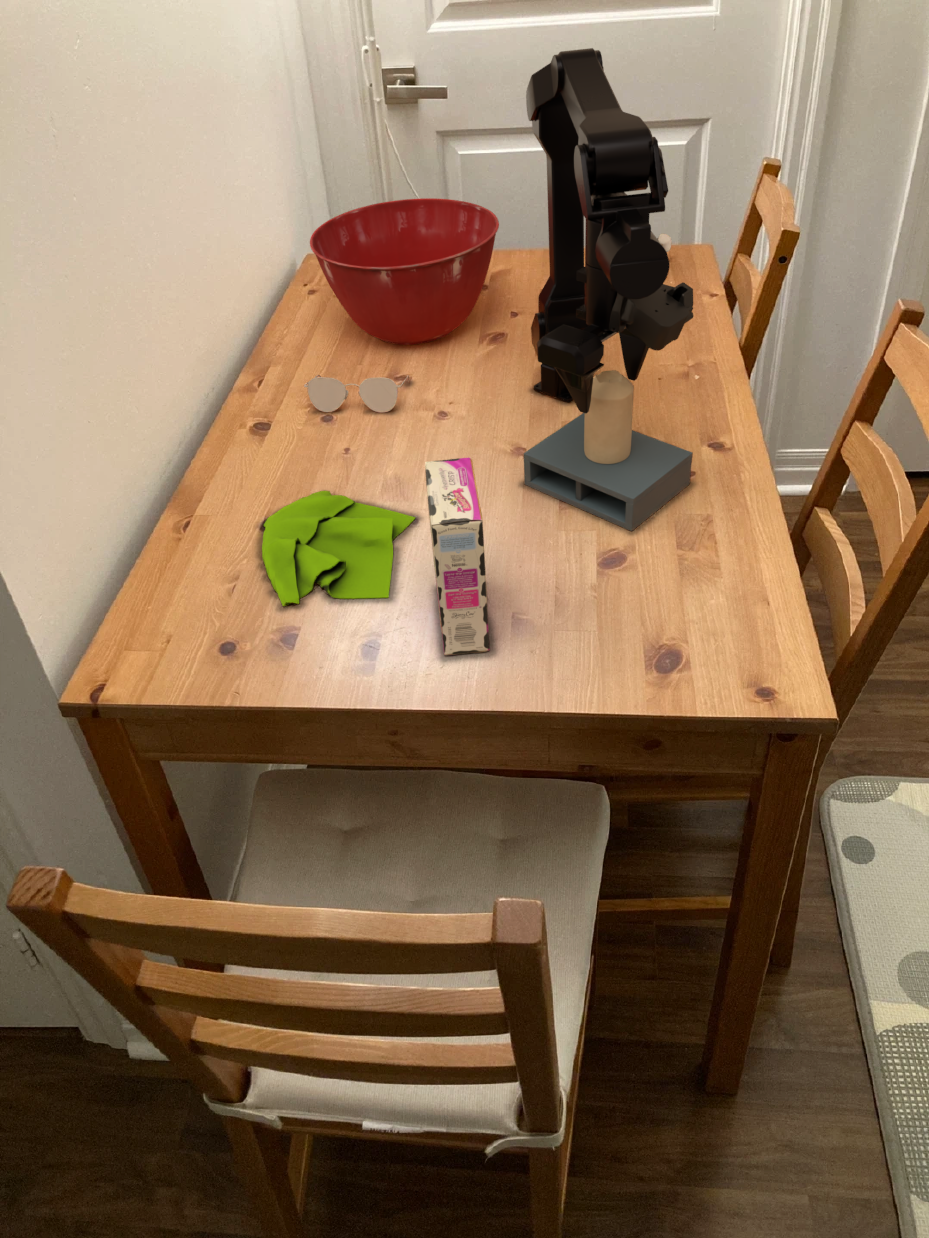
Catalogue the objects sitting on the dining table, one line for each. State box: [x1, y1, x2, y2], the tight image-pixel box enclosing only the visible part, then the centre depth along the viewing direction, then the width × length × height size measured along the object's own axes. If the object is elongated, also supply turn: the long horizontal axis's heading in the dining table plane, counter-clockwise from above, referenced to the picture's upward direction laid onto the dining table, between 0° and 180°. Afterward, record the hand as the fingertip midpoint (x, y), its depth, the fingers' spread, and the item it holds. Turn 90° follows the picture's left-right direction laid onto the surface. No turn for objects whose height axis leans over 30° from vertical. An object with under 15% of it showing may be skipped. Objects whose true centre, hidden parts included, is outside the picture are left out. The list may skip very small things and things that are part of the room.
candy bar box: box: [424, 457, 491, 656], centre depth 97 cm, size 11×5×16 cm, turn 5°
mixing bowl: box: [309, 197, 500, 346], centre depth 151 cm, size 28×28×16 cm
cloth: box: [261, 490, 416, 607], centre depth 112 cm, size 20×22×2 cm
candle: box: [584, 369, 635, 464], centre depth 113 cm, size 6×6×10 cm
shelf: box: [523, 412, 693, 532], centre depth 118 cm, size 12×16×4 cm
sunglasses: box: [303, 374, 411, 414], centre depth 139 cm, size 14×8×5 cm, turn 82°
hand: (608, 395), depth 111 cm, fingers open, 9 cm apart
